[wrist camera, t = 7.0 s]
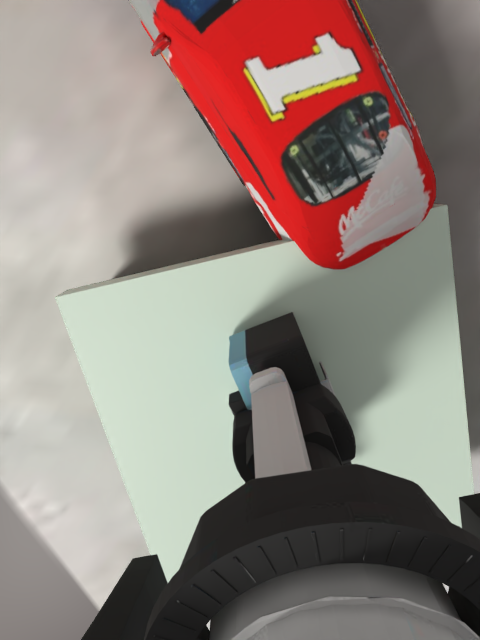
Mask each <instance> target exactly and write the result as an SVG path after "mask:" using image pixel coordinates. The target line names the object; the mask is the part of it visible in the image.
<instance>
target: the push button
mask: <svg viewBox="0 0 480 640" xmlns="http://www.w3.org/2000/svg"><path fill="white" fill-rule="evenodd" d="M229 342H230V346H229V361H228V362H229V367H230V371H231V373H232V376H233V378H234V381H235V383H236V385H237V387H238V389H239V391H236V392H233V393H231V394H229V407H230V409H231V411H232V413H233V415H234V421H233V441H232V451H233V459H234V463H235V466H236V469H237V471H238V472H239V474H240V476H241V478H242V479H243V480H244V481H245V484H243V485H242V486H240V487H239V488H238V489H236V490H235V491H233V492H232V493H231V494H229V495H228V496H226V497H225V498H224V499H222V500H221V501H219V502H218V503H217V504H215V505H214V506H212V507H211V508H209V509H208V510H207V511H205V512H204V514H203V515H202V516H201V517H200V519H199V522H198V524H197V527H196V529H195V532H194V534H193V537H192V539H191V542H190V544H189V546H188V549H187V551H186V554H185V556H184V559H183V561H182V564H181V566H180V569H179V570H178V571H177V572H176V574H175V575H174V576H173V577H172V578H171V580H170V581H169V582H168V584H167V585H166V586H165V588H164V589H163V591H162V592H161V594H160V596H159V598H158V600H157V601H156V603H155V605H154V607H153V610H152V612H151V615H150V618H149V620H148V624H147V628H146V632H145V637H144V640H480V539H479V538H477V537H476V536H474V535H473V534H471V533H469V532H468V531H466V530H464V529H462V528H461V527H459V526H457V525H455V524H453V523H451V522H450V521H449V519H448V518H447V517H446V516H445V515H444V514H443V512H442V511H441V510H440V509H439V508H438V507H437V505H436V504H435V503H434V502H433V501H432V500H431V498H430V497H429V496H428V495H427V494H426V493H425V491H424V490H423V489H422V488H421V487H420V486H419V485H418V484H416V483H415V482H413V481H410V480H407V479H404V478H401V477H398V476H395V475H392V474H389V473H386V472H382V471H379V470H376V469H373V468H370V467H367V466H364V465H359V464H352V463H351V460H353V459H354V458H355V454H356V442H355V436H354V433H353V430H352V427H351V425H350V423H349V421H348V419H347V416H346V414H345V412H344V410H343V408H342V406H341V404H340V402H339V401H338V399H337V398H336V396H335V393H334V390H333V388H332V385H331V382H330V380H329V377H328V375H327V373H326V371H325V369H324V366H323V364H322V362H321V361H320V362H319V364H320V367H321V369H322V372H323V375H324V377H325V380H322V381H320V380H319V377H318V375H317V372H316V370H315V367H314V364H313V362H312V359H311V357H310V354H309V351H308V349H307V346H306V344H305V341H304V339H303V336H302V334H301V331H300V329H299V326H298V324H297V321H296V319H295V317H294V314H293V312H291V313H288V314H286V315H283V316H280V317H278V318H275V319H272V320H270V321H267V322H265V323H262V324H259V325H257V326H254V327H252V328H249V329H246V330H245V331H242V332H239V333H237V334H234V335H232V336H229ZM442 583H444V584H445V585H447V586H449V591H448V594H447V592H446V590H445V588H444V586H443V584H442ZM210 619H211V622H210V631H209V629H208V628H207V626H206V624H207V623H208V622H209V621H210Z"/></svg>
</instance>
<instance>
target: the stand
mask: <svg viewBox="0 0 480 640" xmlns="http://www.w3.org/2000/svg"><path fill="white" fill-rule="evenodd" d="M55 299H56V301H57V304H58V307H59V310H60V312H61V315H62V318H63V320H64V323H65V326H66V328H67V331H68V334H69V336H70V339H71V342H72V345H73V347H74V350H75V353H76V355H77V358H78V361H79V363H80V366H81V369H82V371H83V374H84V377H85V380H86V382H87V385H88V388H89V390H90V393H91V396H92V398H93V401H94V404H95V406H96V409H97V412H98V414H99V417H100V420H101V423H102V425H103V428H104V431H105V433H106V436H107V439H108V441H109V444H110V447H111V449H112V452H113V455H114V458H115V460H116V463H117V466H118V468H119V471H120V474H121V476H122V479H123V482H124V484H125V487H126V490H127V493H128V495H129V498H130V501H131V503H132V506H133V509H134V511H135V514H136V517H137V519H138V522H139V525H140V527H141V530H142V533H143V536H144V538H145V541H146V544H147V546H148V549H149V552H150V554H151V555H155V554H157V555H158V558H159V561H160V563H161V566H162V569H163V572H164V574H165V577H166V580H167V583H168V582H169V581H170V580H171V578H172V577H173V576H174V575H175V574H176V572H177V571H178V570H179V569H180V566H181V564H182V561H183V559H184V556H185V554H186V551H187V549H188V546H189V544H190V542H191V539H192V537H193V534H194V532H195V529H196V527H197V524H198V522H199V519H200V517H201V516H202V515H203V514H204V512H205V511H207V510H208V509H209V508H211V507H212V506H214V505H215V504H217V503H218V502H219V501H221V500H222V499H224V498H225V497H226V496H228V495H229V494H231V493H232V492H233V491H235V490H236V489H238V488H239V487H240V486H242V485H243V484H245V481H244V480H243V479H242V478H241V476H240V474H239V472H238V471H237V469H236V466H235V463H234V459H233V451H232V441H233V421H234V415H233V413H232V411H231V409H230V407H229V394H231V393H233V392H236V391H239V389H238V387H237V385H236V383H235V381H234V378H233V376H232V373H231V371H230V367H229V362H228V361H229V346H230V342H229V336H232V335H234V334H237V333H239V332H242V331H245V330H246V329H249V328H252V327H254V326H257V325H259V324H262V323H265V322H267V321H270V320H272V319H275V318H278V317H280V316H283V315H286V314H288V313H291V312H293V314H294V317H295V319H296V321H297V324H298V326H299V329H300V331H301V334H302V336H303V339H304V341H305V344H306V346H307V349H308V351H309V354H310V357H311V359H312V362H313V364H314V367H315V370H316V372H317V375H318V377H319V380H320V381H322V380H325V377H324V375H323V372H322V369H321V367H320V364H319V362H320V361H321V362H322V364H323V366H324V369H325V371H326V373H327V375H328V377H329V380H330V382H331V385H332V388H333V390H334V393H335V396H336V398H337V399H338V401H339V402H340V404H341V406H342V408H343V410H344V412H345V414H346V416H347V419H348V421H349V423H350V425H351V427H352V430H353V433H354V436H355V442H356V454H355V458H354V459H353V460H351V463H352V464H359V465H364V466H367V467H370V468H373V469H376V470H379V471H382V472H386V473H389V474H392V475H395V476H398V477H401V478H404V479H407V480H410V481H413V482H415V483H416V484H418V485H419V486H420V487H421V488H422V489H423V490H424V491H425V493H426V494H427V495H428V496H429V497H430V498H431V500H432V501H433V502H434V503H435V504H436V505H437V507H438V508H439V509H440V510H441V511H442V512H443V514H444V515H445V516H446V517H447V518H448V519H449V521H450V522H451V523H453V524H455V525H457V526H459V527H461V528H462V524H461V514H460V504H459V497H462V496H467V495H473V494H474V487H473V476H472V465H471V454H470V444H469V433H468V422H467V411H466V400H465V389H464V379H463V368H462V357H461V346H460V335H459V325H458V314H457V303H456V292H455V281H454V271H453V260H452V249H451V238H450V227H449V216H448V206H447V205H444V204H433V207H432V208H431V209H430V211H429V213H428V215H427V216H426V218H425V219H424V220H423V221H422V222H421V223H420V224H419V225H418V226H416V227H415V228H414V229H413V230H411V231H410V232H408V233H407V234H406V235H404V236H403V237H401V238H400V239H398V240H397V241H395V242H394V243H392V244H391V245H389V246H388V247H386V248H385V249H383V250H381V251H380V252H378V253H376V254H374V255H373V256H371V257H369V258H367V259H365V260H364V261H362V262H360V263H358V264H356V265H353V266H351V267H349V268H346V269H340V270H334V269H329V268H323V267H320V266H318V265H317V264H315V263H313V262H312V261H311V260H309V259H308V258H307V257H306V256H305V254H304V253H303V252H302V251H301V249H300V248H299V247H298V245H297V244H296V243H295V241H286V240H276V241H272V242H268V243H263V244H259V245H255V246H251V247H247V248H242V249H238V250H234V251H230V252H225V253H221V254H217V255H213V256H208V257H204V258H200V259H196V260H192V261H187V262H183V263H179V264H175V265H170V266H166V267H162V268H158V269H154V270H149V271H145V272H141V273H137V274H132V275H128V276H124V277H120V278H115V279H111V280H107V281H103V282H99V283H94V284H90V285H86V286H82V287H77V288H73V289H69V290H66V291H65V292H63V293H61V294H60V295H58V296H56V297H55Z"/></svg>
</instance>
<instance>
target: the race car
mask: <svg viewBox="0 0 480 640" xmlns="http://www.w3.org/2000/svg"><path fill="white" fill-rule="evenodd" d="M128 1H129V2H130V4H131V5H132V7H133V8H134V9H135V11H136V12H137V14H138V16H139V17H140V19H141V23H142V25H143V27H144V28H145V30H146V31H147V33H148V35H149V36H150V38H151V39H152V41H153V43H154V44H153V47H152V49H151V54H152V56H156V55H158V54H161V55H162V57H163V58H164V60H165V62H166V63H167V65H168V66H169V68H170V70H171V71H172V73H173V74H174V76H175V77H176V79H177V81H178V82H179V84H180V85H181V87H182V89H183V90H184V92H185V93H186V95H187V96H188V98H189V100H190V101H191V103H192V104H193V106H194V108H195V109H196V111H197V112H198V114H199V116H200V117H201V119H202V120H203V122H204V123H205V125H206V127H207V128H208V130H209V131H210V133H211V135H212V136H213V138H214V139H215V141H216V142H217V144H218V146H219V147H220V149H221V150H222V152H223V154H224V155H225V157H226V158H227V160H228V161H229V163H230V165H231V166H232V168H233V169H234V171H235V173H236V174H237V176H238V177H239V179H240V181H241V182H242V184H243V185H244V186H245V185H246V188H247V189H248V191H249V193H250V194H251V196H252V198H253V200H254V201H255V203H256V205H257V206H258V208H259V209H260V211H261V212H262V214H263V216H264V217H265V219H266V220H267V222H268V224H269V225H270V227H271V228H272V230H273V232H274V233H275V234H276V236H277V237H278V239H279V240H286V241H295V243H296V244H297V245H298V247H299V248H300V249H301V251H302V252H303V253H304V254H305V256H306V257H307V258H308V259H309V260H311V261H312V262H313V263H315V264H317V265H318V266H320V267H323V268H329V269H334V270H340V269H346V268H349V267H351V266H353V265H356V264H358V263H360V262H362V261H364V260H365V259H367V258H369V257H371V256H373V255H374V254H376V253H378V252H380V251H381V250H383V249H385V248H386V247H388V246H389V245H391V244H392V243H394V242H395V241H397V240H398V239H400V238H401V237H403V236H404V235H406V234H407V233H408V232H410V231H411V230H413V229H414V228H415V227H416V226H418V225H419V224H420V223H421V222H422V221H423V220H424V219H425V218H426V216H427V215H428V213H429V211H430V209H431V208H432V207H433V204H434V201H435V198H436V179H435V175H434V171H433V169H432V166H431V164H430V161H429V159H428V157H427V154H426V152H425V149H424V147H423V144H422V140H421V136H420V133H419V130H418V127H417V125H416V123H415V120H414V118H413V116H412V114H411V112H410V111H409V109H408V107H407V105H406V103H405V101H404V99H403V97H402V95H401V93H400V91H399V89H398V86H397V84H396V82H395V80H394V78H393V76H392V74H391V72H390V70H389V68H388V65H387V63H386V61H385V59H384V57H383V55H382V53H381V51H380V49H379V47H378V45H377V42H376V40H375V38H374V36H373V34H372V32H371V30H370V28H369V26H368V24H367V21H366V19H365V17H364V15H363V13H362V11H361V9H360V7H359V5H358V3H357V1H356V0H128Z"/></svg>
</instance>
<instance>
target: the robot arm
mask: <svg viewBox="0 0 480 640" xmlns="http://www.w3.org/2000/svg"><path fill="white" fill-rule="evenodd" d="M459 504H460V514H461V524H462V529H464V530H466V531H468V532H469V533H471V534H473V535H474V536H476V537H477V538H479V539H480V493H478V494H473V495H467V496H462V497H459ZM167 584H168V583H167V580H166V577H165V574H164V572H163V569H162V566H161V563H160V561H159V558H158V555H157V554H155V555H150V556H144V557H139V558H134V559H132V561H131V562H130V564H129V565H128V567H127V568H126V570H125V572H124V573H123V575H122V576H121V578H120V579H119V581H118V583H117V584H116V586H115V587H114V589H113V591H112V592H111V594H110V595H109V597H108V599H107V600H106V602H105V603H104V605H103V607H102V608H101V610H100V611H99V613H98V614H97V616H96V618H95V619H94V621H93V622H92V624H91V625H90V627H89V629H88V630H87V631H86V633H85V634H84V636H83V637H82V639H81V640H144V637H145V632H146V628H147V624H148V620H149V618H150V615H151V612H152V610H153V607H154V605H155V603H156V601H157V600H158V598H159V596H160V594H161V592H162V591H163V589H164V588H165V586H166V585H167Z"/></svg>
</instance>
